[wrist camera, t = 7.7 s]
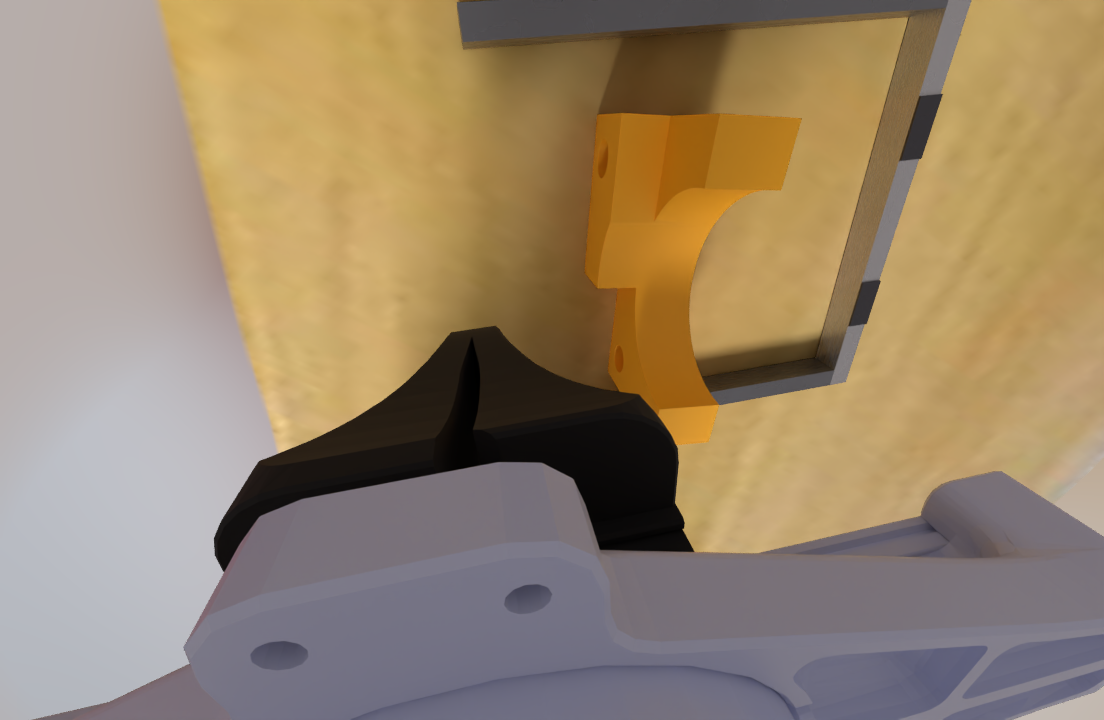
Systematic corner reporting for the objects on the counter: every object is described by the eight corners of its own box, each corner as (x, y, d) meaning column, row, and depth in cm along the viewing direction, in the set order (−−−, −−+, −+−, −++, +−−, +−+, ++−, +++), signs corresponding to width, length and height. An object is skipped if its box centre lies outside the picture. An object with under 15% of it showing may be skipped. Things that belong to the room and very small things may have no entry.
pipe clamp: (596, 114, 17) (660, 110, 11) (695, 120, 18) (801, 118, 12) (575, 371, 23) (611, 451, 17) (650, 366, 23) (708, 441, 18)
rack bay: (826, 369, 26) (846, 383, 24) (520, 423, 23) (523, 442, 22) (940, -18, 16) (983, -30, 15) (457, 13, 14) (456, 1, 13)
